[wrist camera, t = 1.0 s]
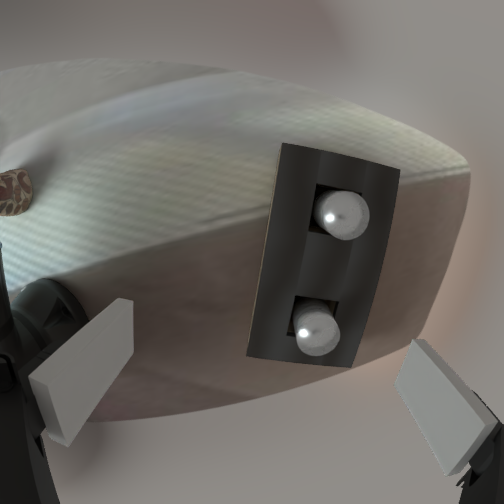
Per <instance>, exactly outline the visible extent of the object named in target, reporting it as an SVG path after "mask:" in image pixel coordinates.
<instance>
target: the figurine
mask: <svg viewBox="0 0 504 504" xmlns="http://www.w3.org/2000/svg"><path fill="white" fill-rule="evenodd" d="M31 198H32V185H31V181H30V179H29V176H28V173H27V171H26V170H22V169H14V170H9V171H6V172H4V173H0V216H15V215H19V214H21V213H23V212H24V211H25V210H26V209H27V208H28V206H29V204H30V201H31Z"/></svg>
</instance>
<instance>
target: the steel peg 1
mask: <svg viewBox="0 0 504 504" xmlns="http://www.w3.org/2000/svg"><path fill="white" fill-rule="evenodd" d="M292 319H293V324H294V329H295V334H296V339H297V344H298V346H299V348H300V349H301V351H303V352H304V353H306V354H308V355H311V356H321V355H324V354H327V353H329V352H330V351H332V350H333V349H334V348H335V347H336V345H337V344H338V342H339V339H340V330H339V327H338V325H337V323H336V321H335V319H334V317H333V315H332V313H331V311H330V309H329V307H328V305H327V304H326V302H325V301H324V300H323V299H318V298H311V297H304V298H302V299H300V300H299V301H298V302H297V303H296V304H295V305H294V307H293V310H292Z"/></svg>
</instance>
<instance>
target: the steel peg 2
mask: <svg viewBox="0 0 504 504" xmlns="http://www.w3.org/2000/svg"><path fill="white" fill-rule="evenodd" d="M313 216H314V219H315V221H316V223H317V224H318V225H319V226H320V227H322V228H323V229H324V230H326V231H327V232H329V233H330V234H331V235H333V236H334V237H336V238H338V239H341V240H351V239H354V238H357V237H358V236H360V235H361V234H362V233H363V232H364V231H365V229H366V228H367V225H368V223H369V209H368V206H367V204H366V202H365V200H364V199H363V198H362V197H361V196H359V195H358V194H356V193H354V192H349V191H326V192H324V193H322V194H320V195H319V196H318V197H317V199H316V200H315V202H314V205H313Z"/></svg>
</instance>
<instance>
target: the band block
mask: <svg viewBox="0 0 504 504" xmlns="http://www.w3.org/2000/svg"><path fill="white" fill-rule="evenodd" d="M399 177H400V169H396V168H393V167H389V166H385V165H382V164H378V163H374V162H370V161H367V160H363V159H359V158H355V157H350V156H346V155H342V154H337V153H333V152H328V151H324V150H319V149H314V148H309V147H304V146H299V145H293V144H288V143H282V145H281V148H280V150H279V156H278V163H277V169H276V175H275V181H274V187H273V194H272V200H271V206H270V212H269V218H268V224H267V230H266V236H265V242H264V248H263V254H262V260H261V266H260V272H259V277H258V283H257V289H256V295H255V301H254V307H253V312H252V318H251V324H250V329H249V337H248V346H247V354H246V356H249V357H255V358H262V359H269V360H277V361H285V362H293V363H302V364H312V365H322V366H334V367H348V368H351V367H352V364H353V361H354V358H355V356H356V353H357V350H358V347H359V344H360V341H361V338H362V335H363V332H364V329H365V326H366V322H367V319H368V316H369V312H370V309H371V306H372V302H373V299H374V295H375V292H376V288H377V284H378V280H379V276H380V273H381V269H382V264H383V260H384V256H385V252H386V247H387V243H388V238H389V233H390V229H391V224H392V218H393V213H394V208H395V202H396V196H397V190H398V183H399ZM316 186H320V187H325V188H330V189H335V190H340V191H349V192H354V193H356V194H358V195H359V196H361V197H362V198H363V199H364V200H365V202H366V204H367V206H368V209H369V223H368V225H367V228H366V229H365V231H364V232H363V233H362V234H361V235H360V236H358V237H357V238H354V239H351V240H341V239H338V238H336V237H334V236H333V235H331V234H330V233H329V232H327V231H326V230H324V229H323V228H321V227H315V226H310V225H309V223H310V218H311V212H312V206H313V201H314V195H315V189H316ZM295 295H297V296H304V297H311V298H318V299H324V301H325V302H326V304H327V305H328V307H329V309H330V311H331V313H332V315H333V317H334V319H335V321H336V323H337V325H338V327H339V330H340V339H339V342H338V344H337V345H336V347H335V348H334V349H333V350H332V351H330V352H329V353H327V354H324V355H321V356H311V355H308V354H306V353H304V352H303V351H301V349H300V348H299V346H298V344H297V339H296V334H295V329H294V324H293V319H292V314H291V312H292V308H293V303H294V299H295Z"/></svg>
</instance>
